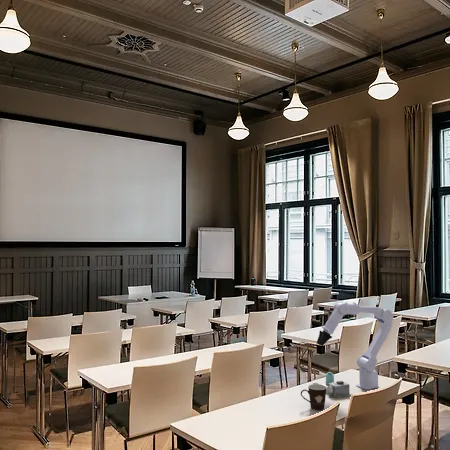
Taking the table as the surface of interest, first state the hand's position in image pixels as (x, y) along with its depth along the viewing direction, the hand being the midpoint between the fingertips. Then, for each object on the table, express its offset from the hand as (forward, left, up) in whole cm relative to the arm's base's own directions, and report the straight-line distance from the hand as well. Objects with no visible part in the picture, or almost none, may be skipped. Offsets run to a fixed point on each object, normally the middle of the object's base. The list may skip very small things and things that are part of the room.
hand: (319, 344), depth 255 cm
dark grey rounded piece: (-3, -8, -25) cm, 26 cm away
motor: (-6, +5, -24) cm, 26 cm away
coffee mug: (+16, +20, -25) cm, 35 cm away
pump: (-11, -6, -24) cm, 28 cm away
